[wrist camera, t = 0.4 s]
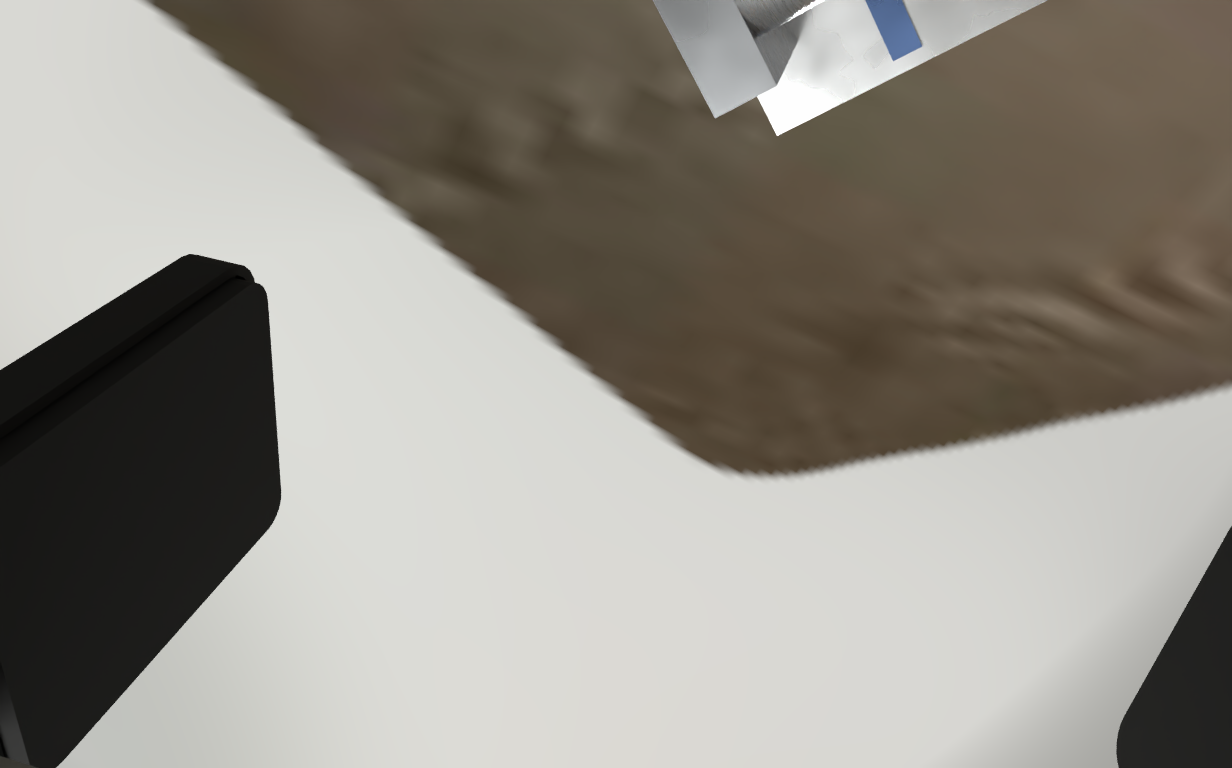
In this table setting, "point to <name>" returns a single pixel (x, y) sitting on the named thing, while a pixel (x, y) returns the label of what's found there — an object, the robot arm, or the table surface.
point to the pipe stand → (816, 46)
